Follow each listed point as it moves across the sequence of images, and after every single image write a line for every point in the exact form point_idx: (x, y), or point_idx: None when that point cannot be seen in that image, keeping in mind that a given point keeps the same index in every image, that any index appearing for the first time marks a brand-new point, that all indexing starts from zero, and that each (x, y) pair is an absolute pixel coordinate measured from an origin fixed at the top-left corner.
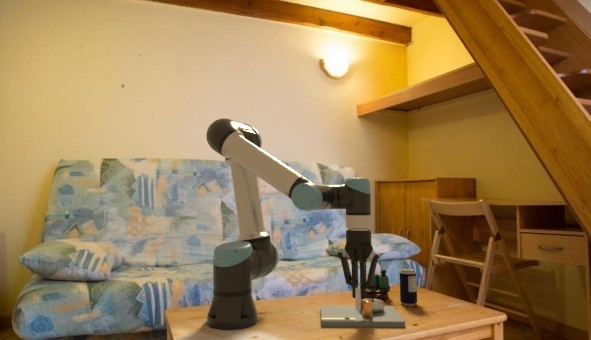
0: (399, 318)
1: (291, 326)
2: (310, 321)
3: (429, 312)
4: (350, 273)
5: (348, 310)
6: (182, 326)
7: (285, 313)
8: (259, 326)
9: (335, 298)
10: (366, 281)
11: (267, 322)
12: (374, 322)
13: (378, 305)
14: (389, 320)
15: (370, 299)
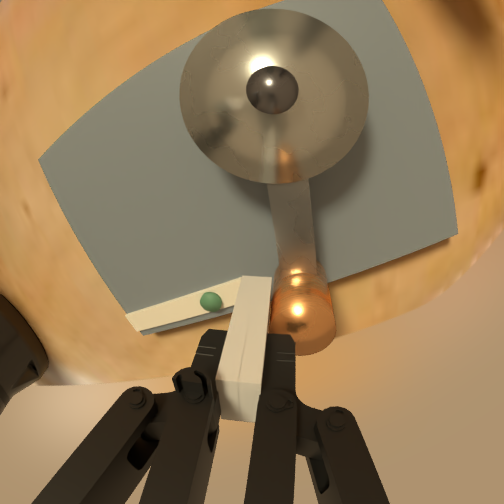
0: (440, 196)
1: (91, 338)
2: (95, 289)
3: (494, 6)
4: (116, 460)
5: (157, 159)
6: None
7: (13, 244)
8: (53, 348)
9: None
10: (296, 431)
11: (41, 324)
12: (334, 277)
13: (344, 153)
14: (399, 243)
15: (271, 100)
